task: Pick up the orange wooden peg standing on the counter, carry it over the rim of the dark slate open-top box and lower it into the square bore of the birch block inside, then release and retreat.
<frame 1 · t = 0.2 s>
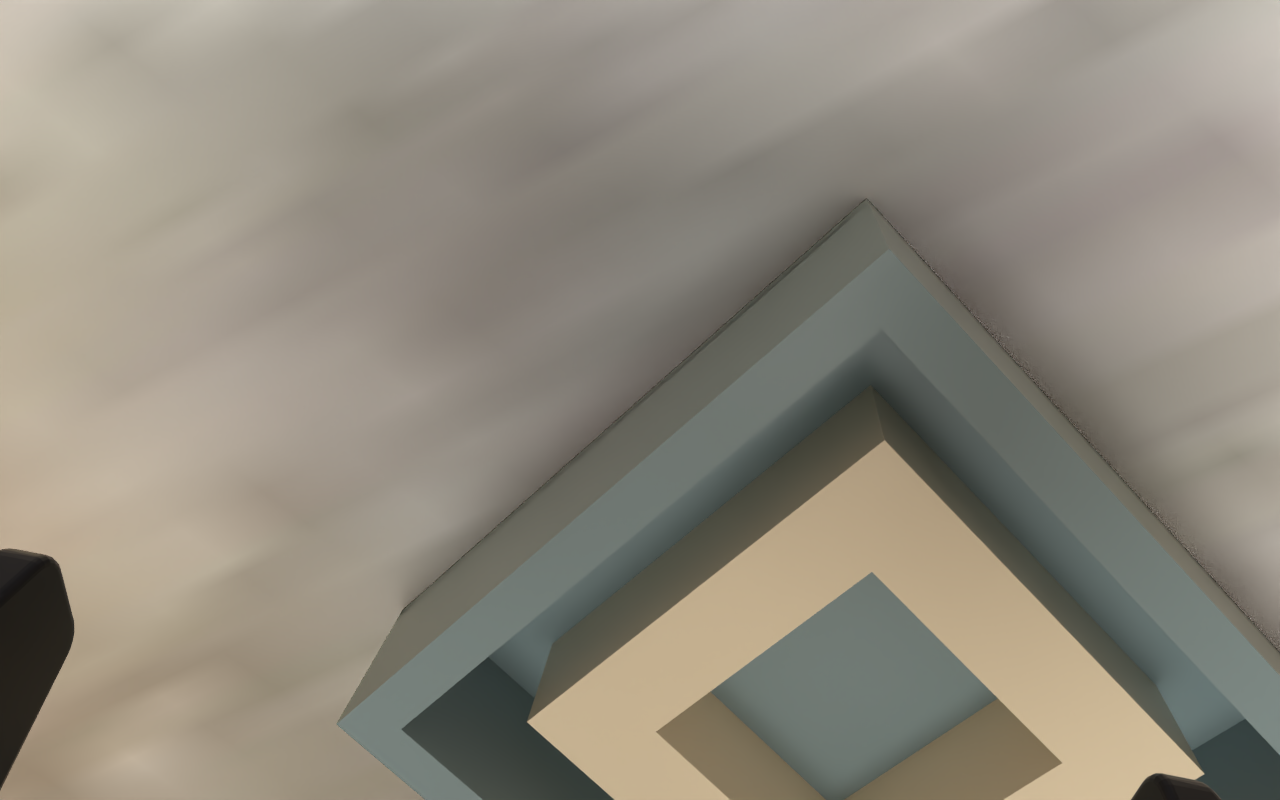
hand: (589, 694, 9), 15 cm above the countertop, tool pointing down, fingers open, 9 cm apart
open box: (844, 652, 26), on the countertop
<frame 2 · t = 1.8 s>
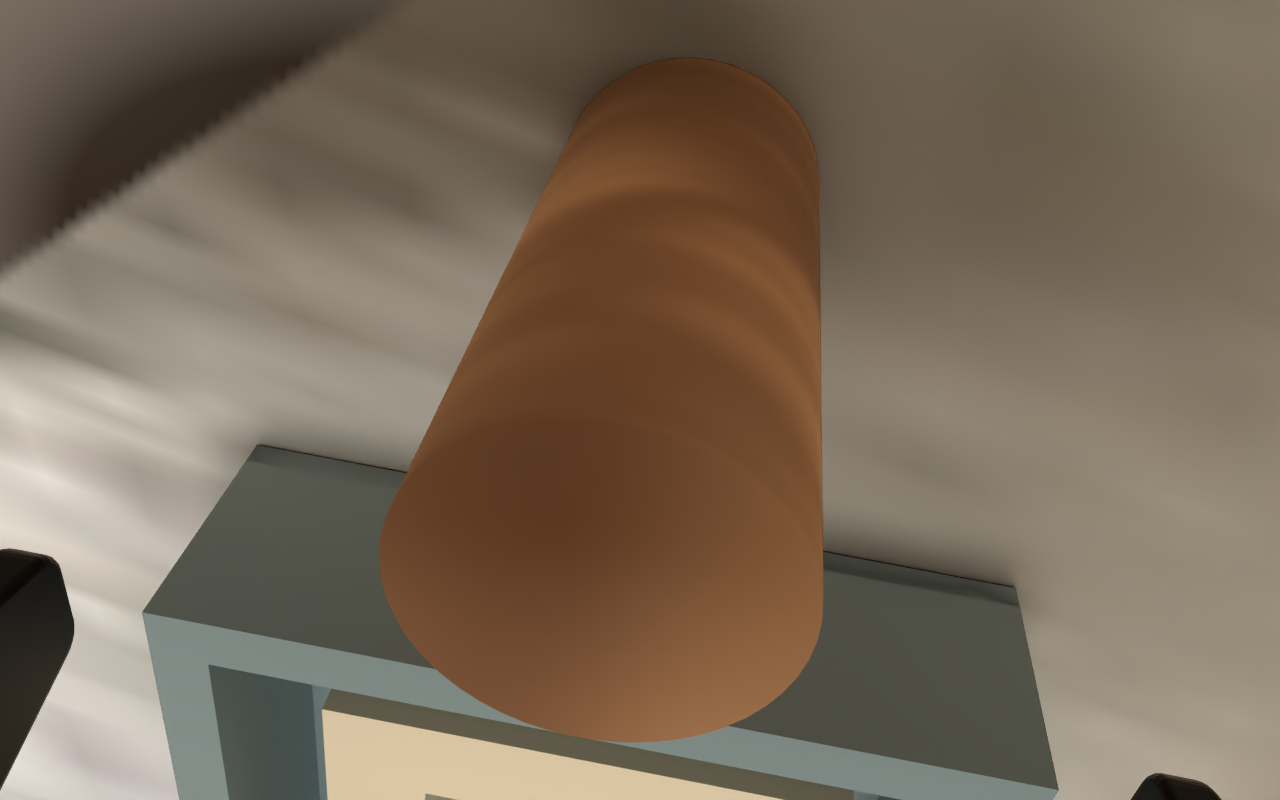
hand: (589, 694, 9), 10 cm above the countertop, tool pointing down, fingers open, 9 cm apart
peg: (689, 185, 17), on the countertop
open box: (589, 764, 26), on the countertop
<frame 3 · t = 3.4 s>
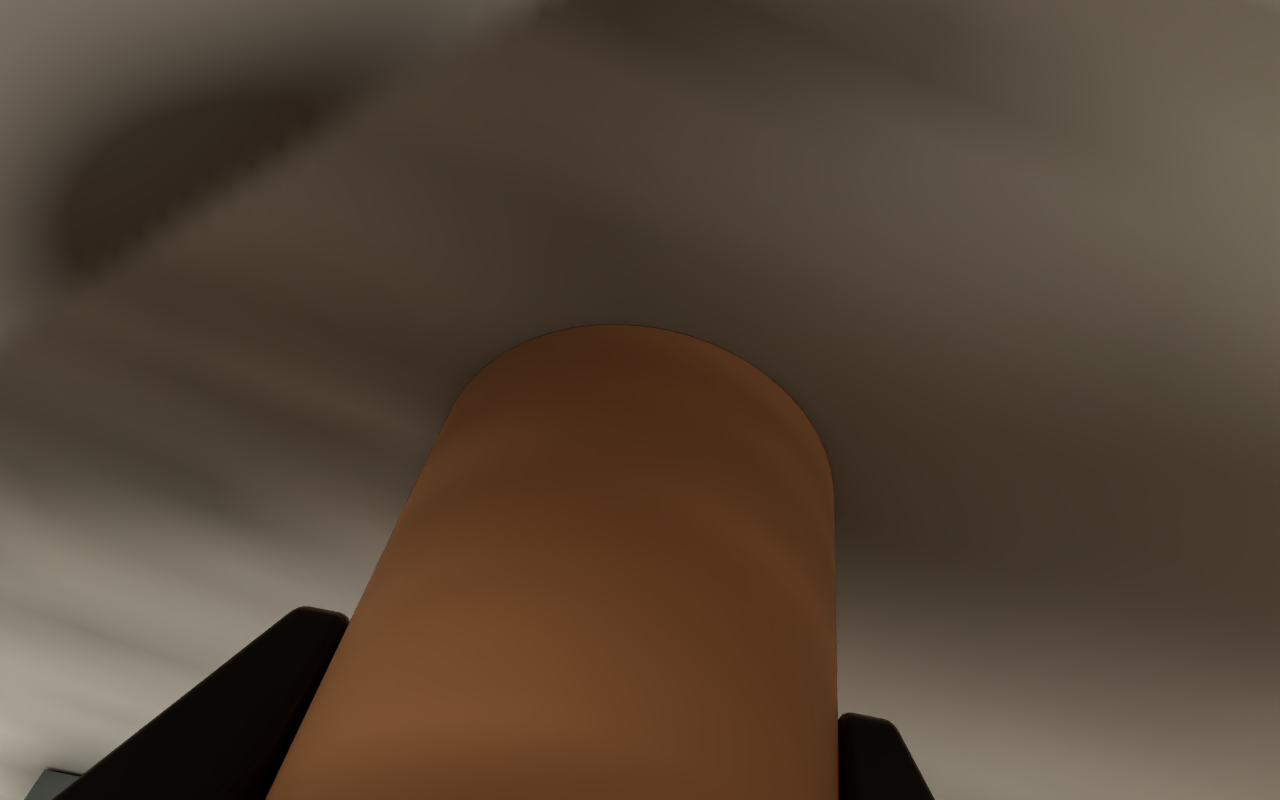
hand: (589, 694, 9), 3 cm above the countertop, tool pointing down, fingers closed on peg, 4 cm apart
peg: (632, 495, 11), on the countertop, touching gripper
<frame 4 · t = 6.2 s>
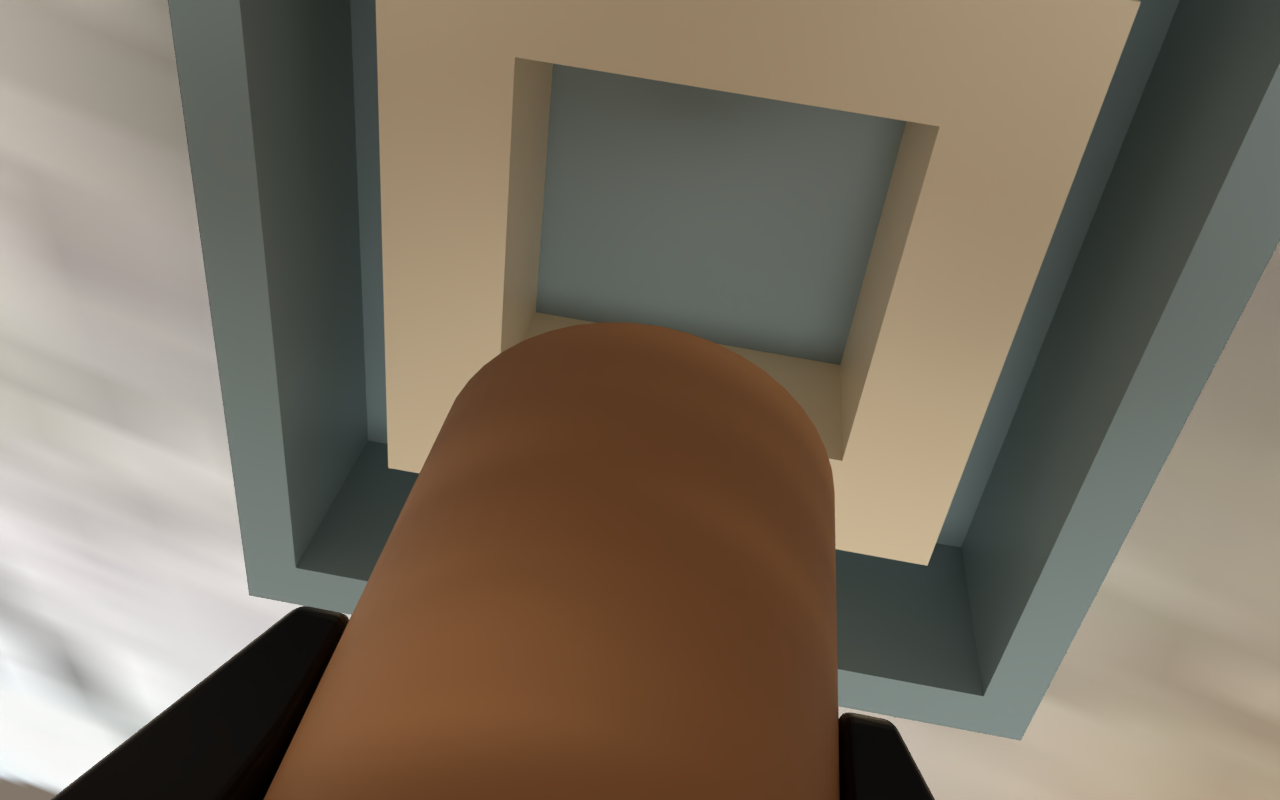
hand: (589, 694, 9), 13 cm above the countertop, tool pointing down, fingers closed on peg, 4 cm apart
peg: (632, 493, 11), point 10 cm above the countertop, touching gripper
open box: (713, 186, 20), on the countertop
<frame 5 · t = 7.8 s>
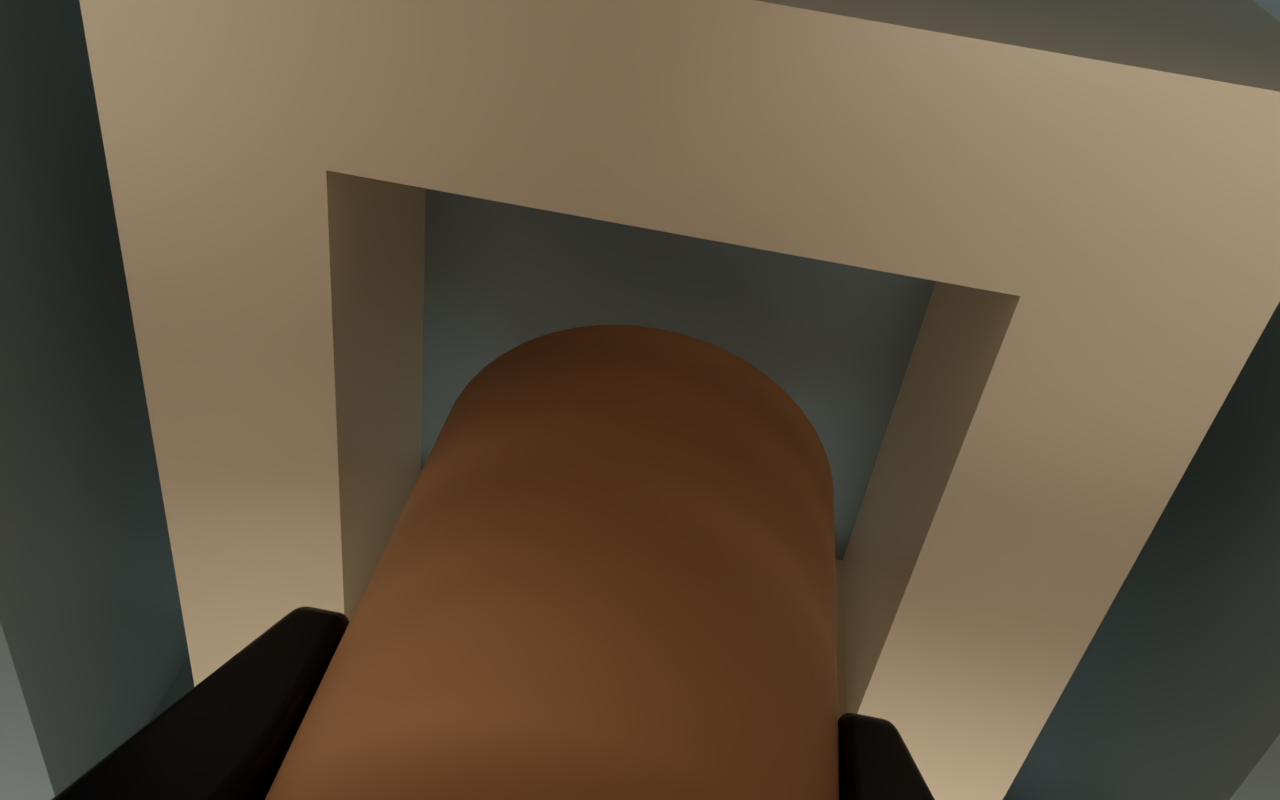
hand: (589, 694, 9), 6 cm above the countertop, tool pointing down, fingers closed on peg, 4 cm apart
peg: (632, 495, 11), point 4 cm above the countertop, touching gripper
open box: (665, 320, 14), on the countertop
when the fingers open (5 cm above the countertop, at t = 9.1 s): peg drops 2 cm, resting on open box.
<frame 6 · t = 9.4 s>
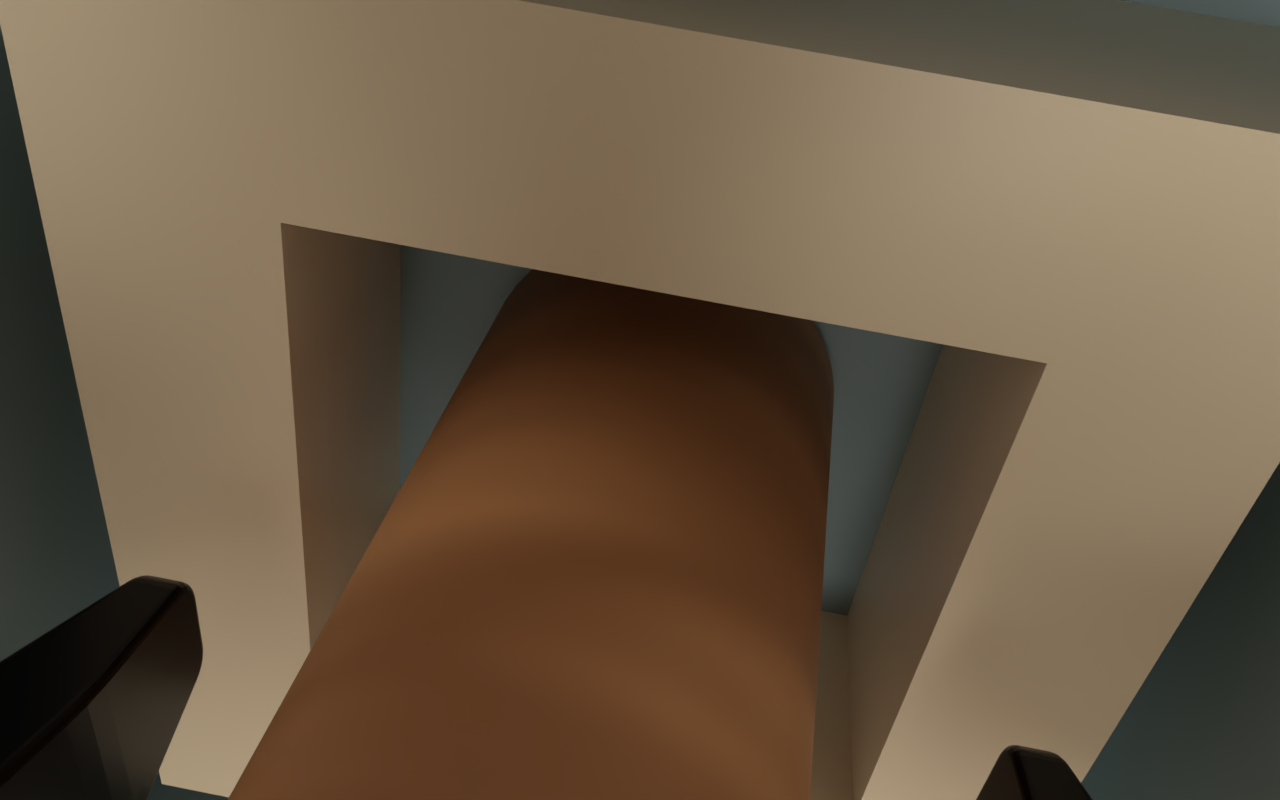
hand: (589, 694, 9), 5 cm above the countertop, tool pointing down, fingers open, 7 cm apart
peg: (657, 390, 12), point 1 cm above the countertop, touching open box
open box: (658, 365, 13), on the countertop
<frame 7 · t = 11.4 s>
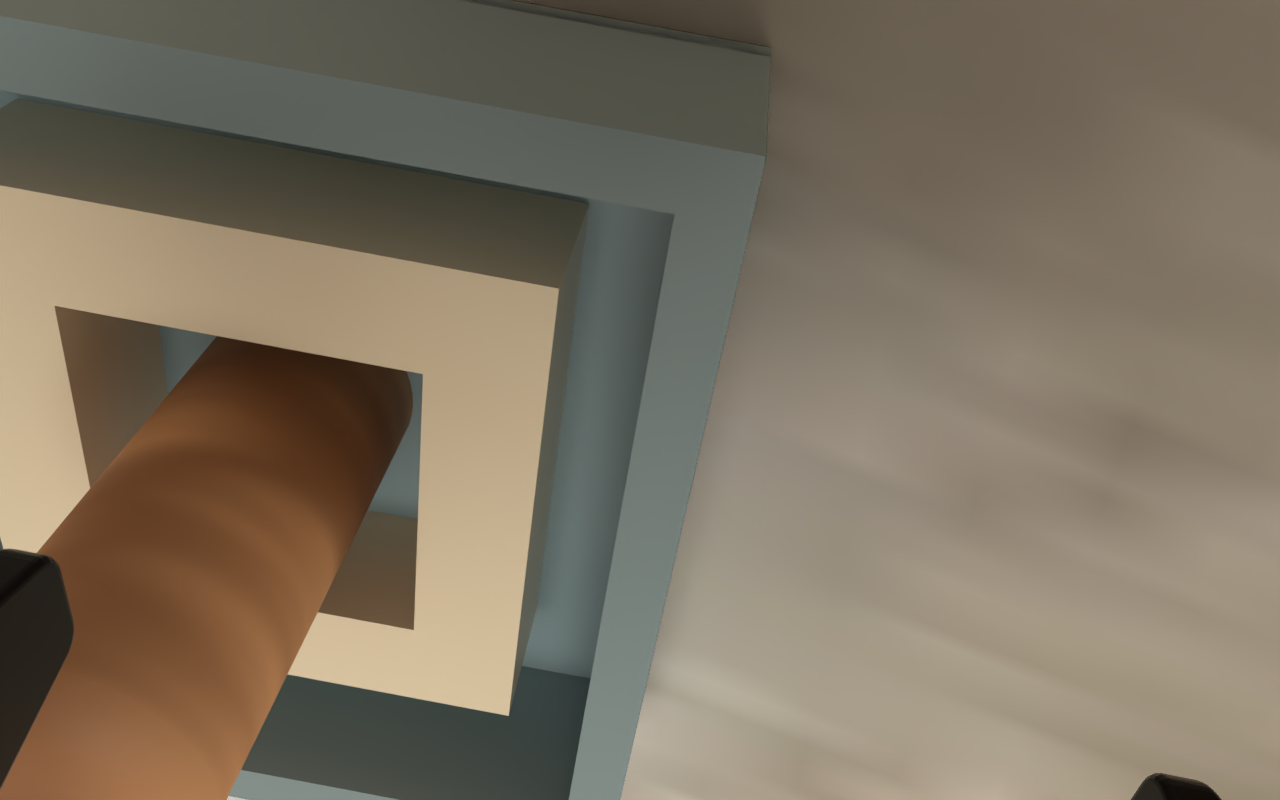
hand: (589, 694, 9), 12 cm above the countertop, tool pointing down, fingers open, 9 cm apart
peg: (313, 386, 21), point 1 cm above the countertop, touching open box
open box: (320, 373, 22), on the countertop
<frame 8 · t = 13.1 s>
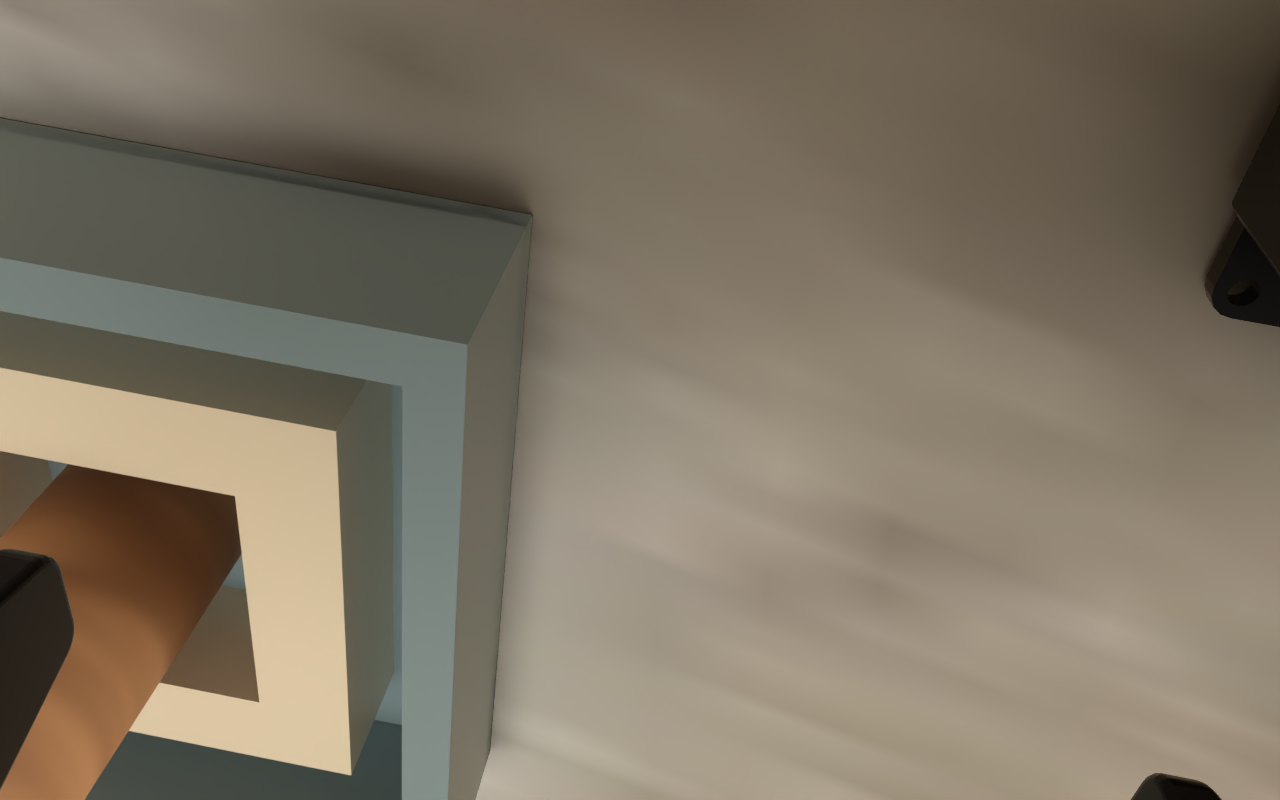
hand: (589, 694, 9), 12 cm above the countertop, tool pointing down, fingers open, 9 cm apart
peg: (177, 484, 24), point 1 cm above the countertop, touching open box
open box: (186, 471, 25), on the countertop
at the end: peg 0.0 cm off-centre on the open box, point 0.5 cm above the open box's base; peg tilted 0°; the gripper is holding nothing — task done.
